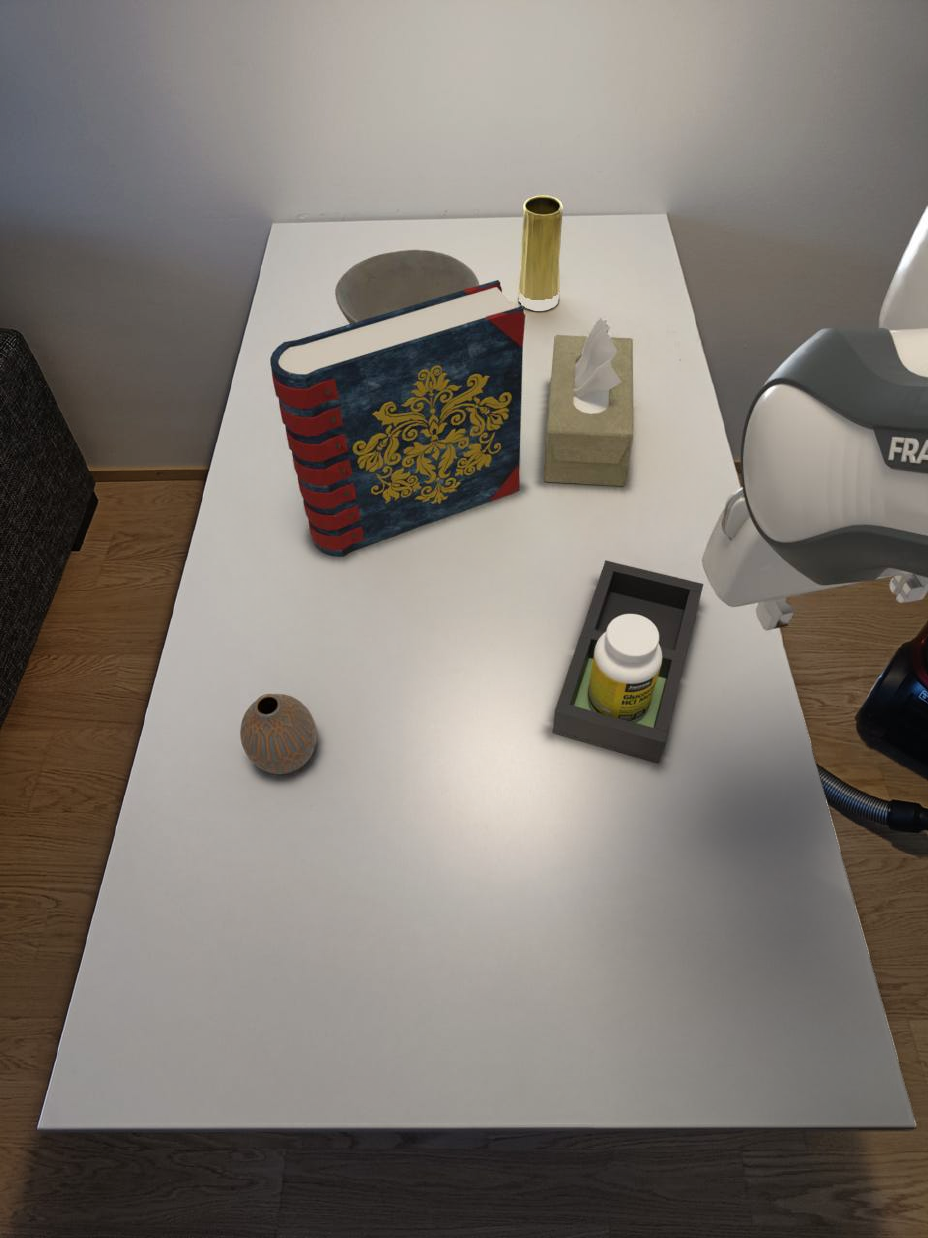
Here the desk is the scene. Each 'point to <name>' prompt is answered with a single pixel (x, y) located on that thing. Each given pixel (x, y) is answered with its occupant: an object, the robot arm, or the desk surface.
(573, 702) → the holder
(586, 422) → the tissue box
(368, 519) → the book
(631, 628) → the pill bottle
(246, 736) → the vase
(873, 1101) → the desk surface
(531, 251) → the vase
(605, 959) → the desk surface
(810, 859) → the desk surface
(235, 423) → the desk surface
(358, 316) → the bowl
